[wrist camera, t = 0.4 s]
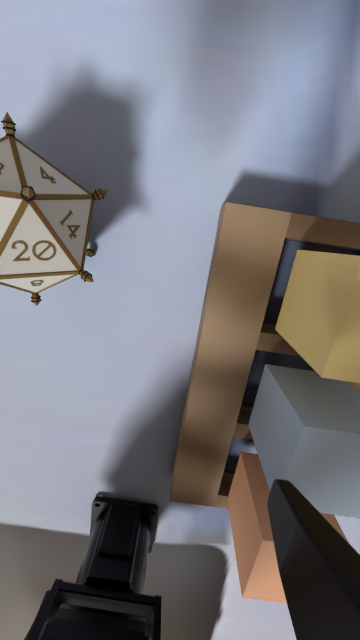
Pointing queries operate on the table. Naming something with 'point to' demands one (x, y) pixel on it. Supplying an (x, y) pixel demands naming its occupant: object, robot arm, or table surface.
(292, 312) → the olive yellow block
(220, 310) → the wooden slotted tray
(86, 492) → the table surface
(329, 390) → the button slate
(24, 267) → the game die
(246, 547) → the orange brown block
